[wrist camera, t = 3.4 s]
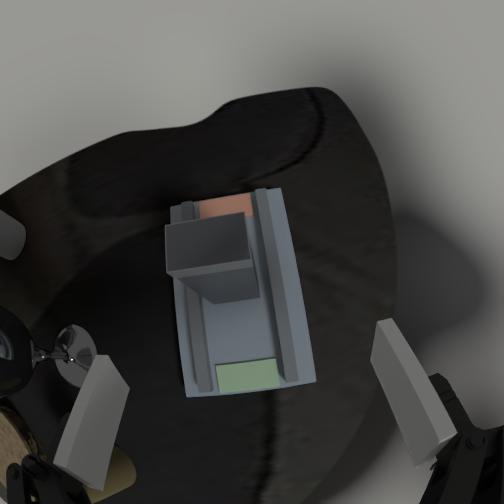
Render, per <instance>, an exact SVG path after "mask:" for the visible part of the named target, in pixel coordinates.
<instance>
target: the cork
mask: <svg viewBox="0 0 504 504" xmlns="http://www.w3.org/2000/svg"><path fill="white" fill-rule="evenodd" d="M135 479H136V471H135V467H134V465H133V463H132V461H131V459H130V458H129V457H128V455H127V454H126V453H125V452H124V451H122V450H121V449H120V448H119V447H117V446H115V445H114V446H113V450H112V454H111V458H110V462H109V466H108V470H107V475H106V479H105V484H104V489H103V491H100V490H97V489H93V488H90V487H88V486H87V485H85V484H83V485H82V487H83V488H84V489H85V491H86V493H87V495H88V497H89V499H90V501H91V503H92V504H93V503H95V502H98V501H100V500H102V499H104V498H107V497H109V496H111V495H113V494H115V493H117V492H119V491H121V490H123V489H125V488H127V487H129V486H131V485H132V484H133V483H134V482H135Z"/></svg>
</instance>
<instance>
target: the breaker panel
mask: <svg viewBox="0 0 504 504" xmlns="http://www.w3.org/2000/svg"><path fill="white" fill-rule="evenodd" d="M243 211H245V216H246V220H247V227H248V233H249V239H250V243H251V248H252V252H253V257H254V262H255V266H256V271H257V278H258V284H259V291H260V297H261V298H255V299H249V300H242V301H235V302H228V303H221V304H212V303H211V302H209V301H208V300H206V299H205V298H203V297H202V296H201V295H199V294H198V293H196V292H195V291H193V290H192V289H191V288H189V287H188V286H186V285H185V284H184V283H182V282H181V281H180V280H178V279H177V278H176V279H174V278H173V282H174V296H175V307H176V318H177V328H178V338H179V346H180V355H181V362H182V370H183V377H184V384H185V390H186V397H198V396H214V395H226V394H237V393H246V392H255V391H262V390H270V389H276V388H283V387H289V386H295V385H300V384H306V383H311V382H316V376H315V369H314V363H313V356H312V350H311V344H310V337H309V331H308V325H307V319H306V314H305V308H304V302H303V297H302V291H301V286H300V280H299V275H298V270H297V265H296V259H295V254H294V249H293V244H292V239H291V234H290V230H289V225H288V220H287V215H286V211H285V206H284V201H283V197H282V192H281V188H276V189H269V190H266V188H262V189H256V190H255V192H249V193H243V194H237V195H231V196H225V197H219V198H214V199H208V200H203V201H197V202H192V201H187V202H182V203H181V205H177V206H172V207H170V213H171V224H175V223H180V222H185V221H191V220H196V219H202V218H207V217H213V216H219V215H225V214H231V213H237V212H243Z"/></svg>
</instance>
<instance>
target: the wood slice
mask: <svg viewBox="0 0 504 504" xmlns="http://www.w3.org/2000/svg"><path fill="white" fill-rule="evenodd" d="M31 453H32V454H35V455H36V456H38V457H39V458H40V459H42V460H43V461H44V462H45V461H46V459H47V458H46V456H45V454H44V452H43V450H42V448H41V446H40V445H39V443H38V441H37V439H36V437H35V436H34V435H33V433H32V432H31V430H30V429H29V427H28V426H27V424H26V423H25V422H24V421H23V420H22V419H21V418H20V417H19V416H18V415H17V414H16V412H14V411H12V410H11V409H9V408H8V407H6V406H0V482H1V483H2V484H3V485H4V487H5V488H6V489H7V486H6V470H7V467H8V466H9V465H10V464H11V463H13V462H14V463H18V464H19V465H20V466H21V462H22V459H23V458H24V457H25V456H26V455H27V454H31ZM31 499H32V501H33V502H34V501H35V498H34V497H33V496H31Z"/></svg>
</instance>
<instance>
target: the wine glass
mask: <svg viewBox="0 0 504 504" xmlns="http://www.w3.org/2000/svg"><path fill="white" fill-rule="evenodd" d="M96 355H98V353H97V348H96V345H95V343H94V341H93V339H92V337H91V336H90V334H89V333H88V332H87V331H86V330H85V329H84V328H82V327H80V326H78V325H67V326H65V327H63V328H62V329H61V330H60V331H59V332H58V333H57V335H56V337H55V339H54V343H53V349H52V351H48V350H45V349H42V348H40V347H38V346H37V345H36V344H35V343H34V341H33V339H32V337H31V335H30V333H29V331H28V330H27V328H26V327H25V325H24V324H23V322H22V321H21V320H20V319H19V318H18V317H17V316H16V315H15V314H13V313H12V312H10V311H9V310H7V309H6V308H4V307H3V306H1V305H0V398H4V397H7V396H10V395H12V394H15V393H17V392H19V391H21V390H22V389H23V388H25V387H26V385H27V384H28V382H29V381H30V379H31V377H32V375H33V373H34V370H35V368H36V366H37V365H38V364H39V363H40V362H43V361H48V360H53V362H54V365H55V368H56V371H57V373H58V374H59V376H60V377H61V379H62V380H63V381H64V382H65V383H67V384H68V385H70V386H72V387H74V388H81V387H82V385H83V383H84V380H85V378H86V376H87V374H88V372H89V369H90V367H91V365H92V363H93V361H94V359H95V356H96Z"/></svg>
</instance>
